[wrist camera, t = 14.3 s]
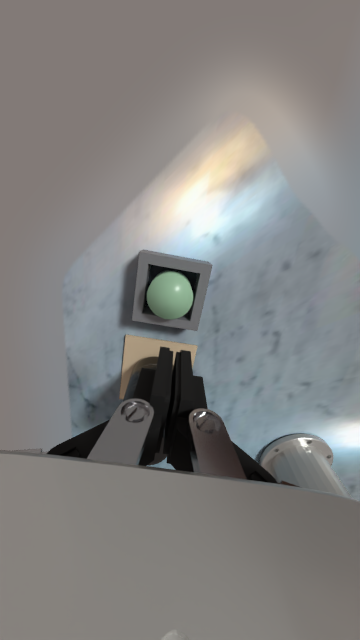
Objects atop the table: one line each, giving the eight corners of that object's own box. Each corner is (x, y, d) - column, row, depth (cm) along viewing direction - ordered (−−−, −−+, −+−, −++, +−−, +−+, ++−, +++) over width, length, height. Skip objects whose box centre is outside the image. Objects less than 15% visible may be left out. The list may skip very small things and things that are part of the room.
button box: (195, 321, 30) (197, 331, 27) (136, 312, 29) (131, 320, 26) (208, 261, 27) (212, 265, 24) (143, 249, 26) (139, 251, 23)
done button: (186, 313, 28) (188, 322, 25) (147, 306, 27) (144, 315, 24) (195, 273, 26) (197, 279, 23) (153, 266, 26) (149, 270, 23)
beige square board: (182, 405, 35) (182, 407, 35) (119, 397, 34) (119, 398, 34) (197, 345, 31) (197, 346, 31) (126, 334, 30) (125, 335, 30)
